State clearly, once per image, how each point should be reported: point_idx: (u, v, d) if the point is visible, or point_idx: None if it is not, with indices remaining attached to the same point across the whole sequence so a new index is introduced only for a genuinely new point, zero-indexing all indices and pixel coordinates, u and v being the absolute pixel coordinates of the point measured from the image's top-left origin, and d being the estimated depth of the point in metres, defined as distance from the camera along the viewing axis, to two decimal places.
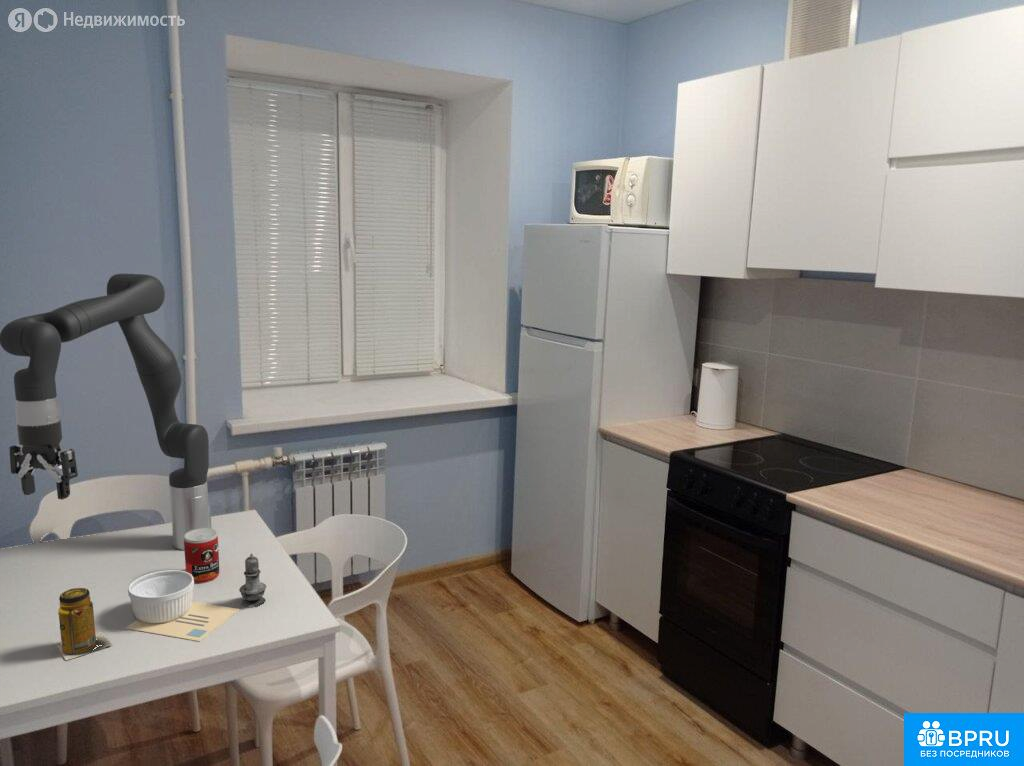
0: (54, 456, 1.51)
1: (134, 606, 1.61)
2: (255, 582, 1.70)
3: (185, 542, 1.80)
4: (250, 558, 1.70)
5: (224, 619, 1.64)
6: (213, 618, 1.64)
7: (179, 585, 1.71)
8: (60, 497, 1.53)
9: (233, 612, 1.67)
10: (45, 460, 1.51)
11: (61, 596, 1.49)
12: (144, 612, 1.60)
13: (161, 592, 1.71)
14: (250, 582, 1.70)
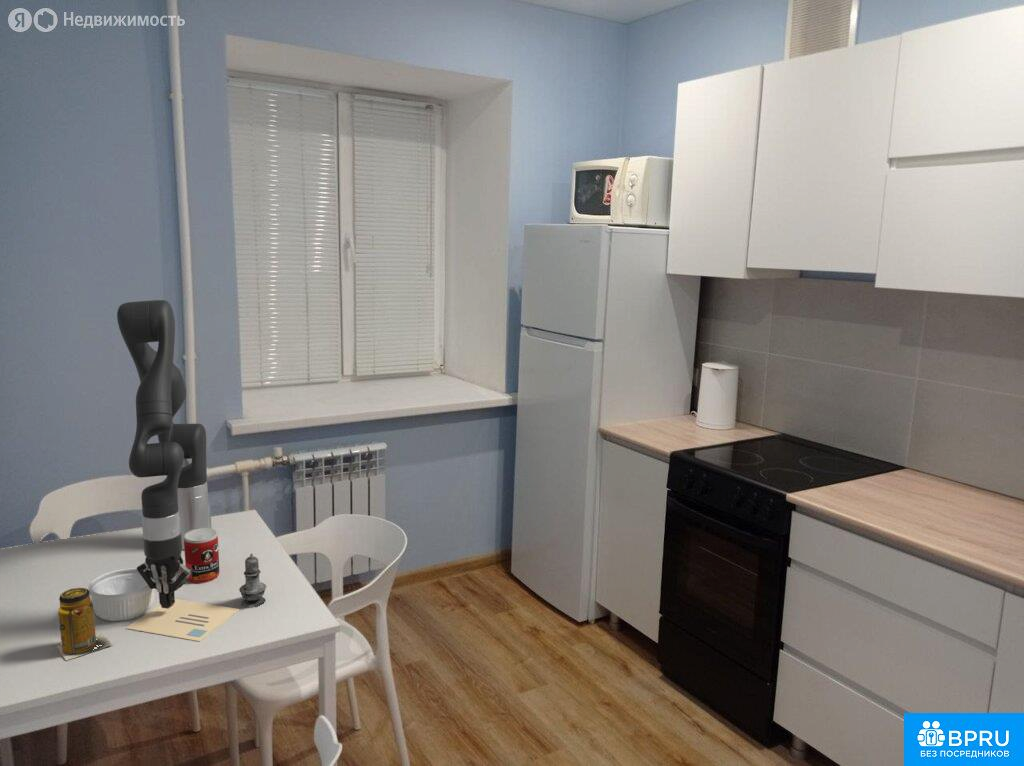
0: (175, 568, 1.63)
1: (96, 605, 1.62)
2: (255, 582, 1.70)
3: (185, 542, 1.80)
4: (250, 558, 1.70)
5: (224, 619, 1.64)
6: (213, 618, 1.64)
7: (138, 583, 1.72)
8: (166, 606, 1.65)
9: (233, 612, 1.67)
10: (166, 573, 1.62)
11: (61, 596, 1.49)
12: (107, 610, 1.61)
13: (120, 591, 1.71)
14: (250, 582, 1.70)
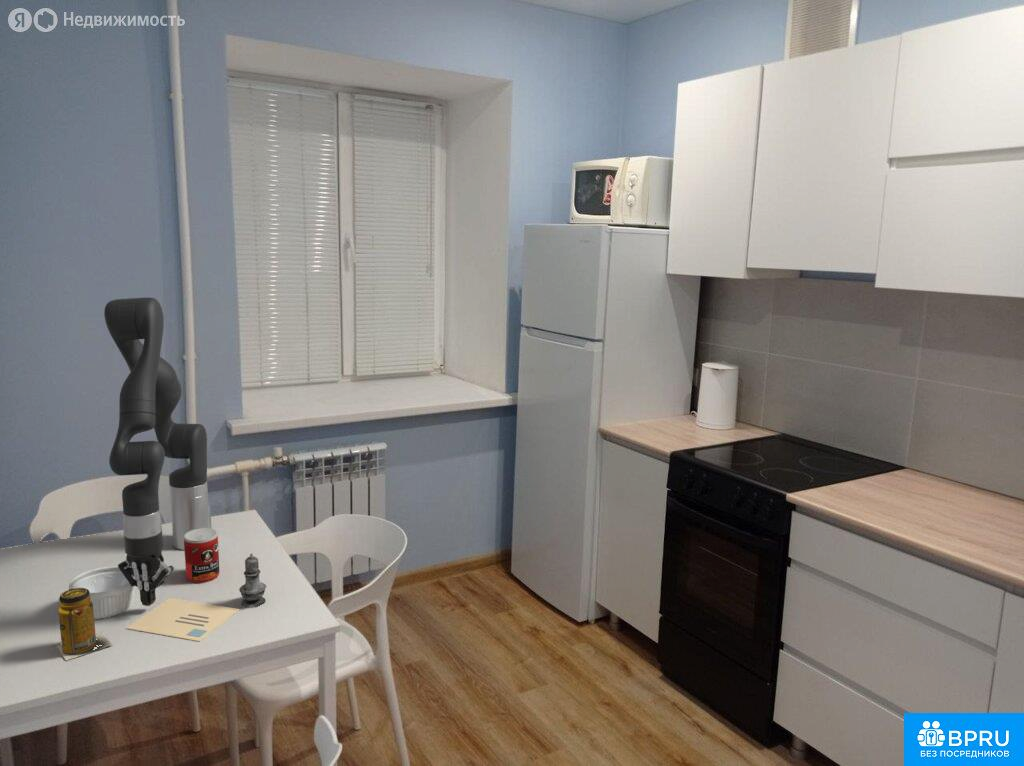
0: (155, 566, 1.64)
1: None
2: (255, 582, 1.70)
3: (185, 542, 1.80)
4: (250, 558, 1.70)
5: (224, 619, 1.64)
6: (213, 618, 1.64)
7: (119, 581, 1.73)
8: (147, 604, 1.66)
9: (233, 612, 1.67)
10: (147, 570, 1.63)
11: (61, 596, 1.49)
12: None
13: (100, 589, 1.72)
14: (250, 582, 1.70)
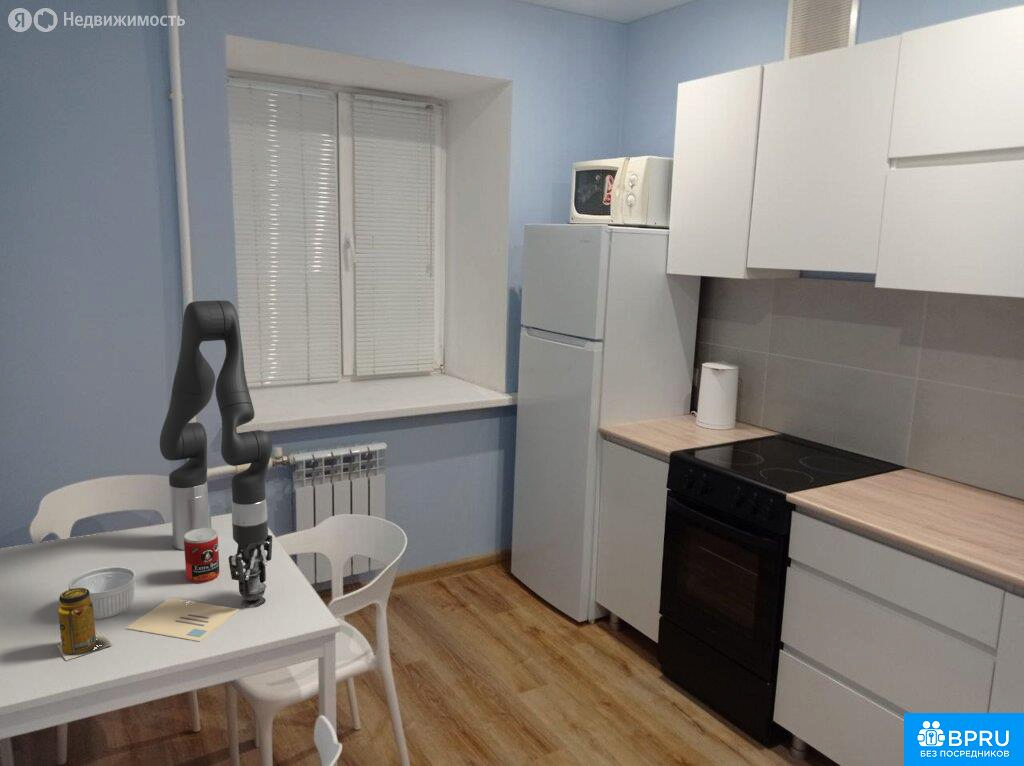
0: None
1: None
2: (255, 582, 1.70)
3: (185, 542, 1.80)
4: None
5: (224, 619, 1.64)
6: (213, 618, 1.64)
7: (119, 581, 1.73)
8: None
9: (233, 612, 1.67)
10: None
11: (61, 596, 1.49)
12: None
13: (100, 589, 1.72)
14: (250, 582, 1.70)
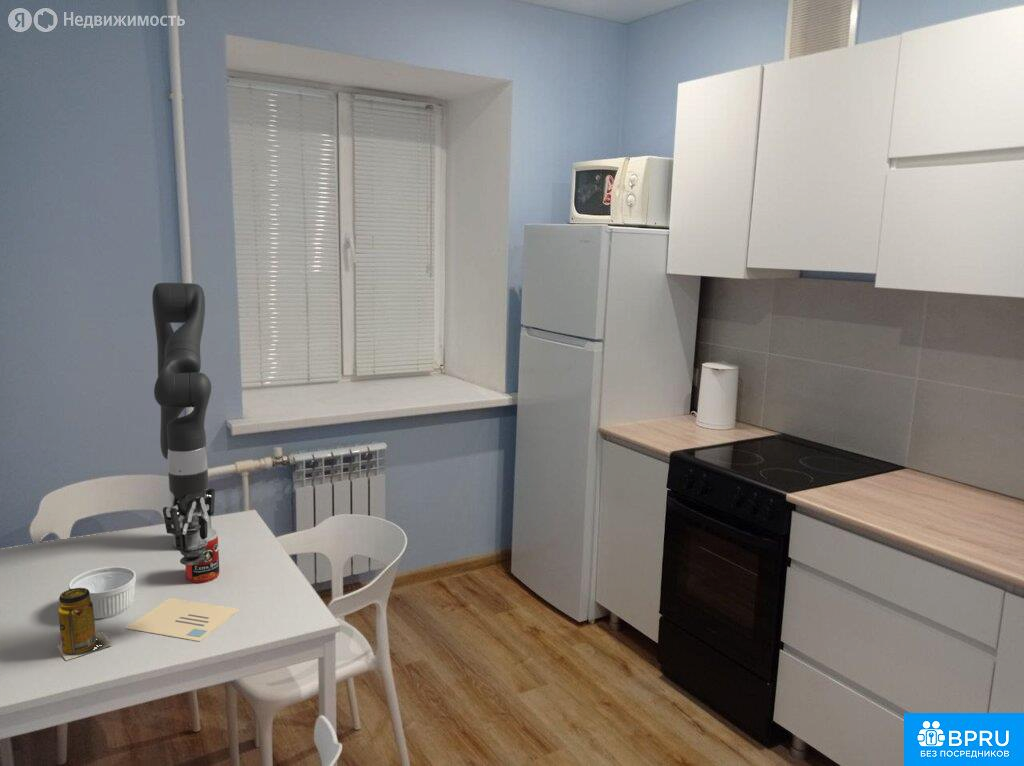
0: None
1: None
2: (195, 538, 1.58)
3: None
4: None
5: (224, 619, 1.64)
6: (213, 618, 1.64)
7: (119, 581, 1.73)
8: None
9: (233, 612, 1.67)
10: None
11: (61, 596, 1.49)
12: None
13: (100, 589, 1.72)
14: (189, 538, 1.57)
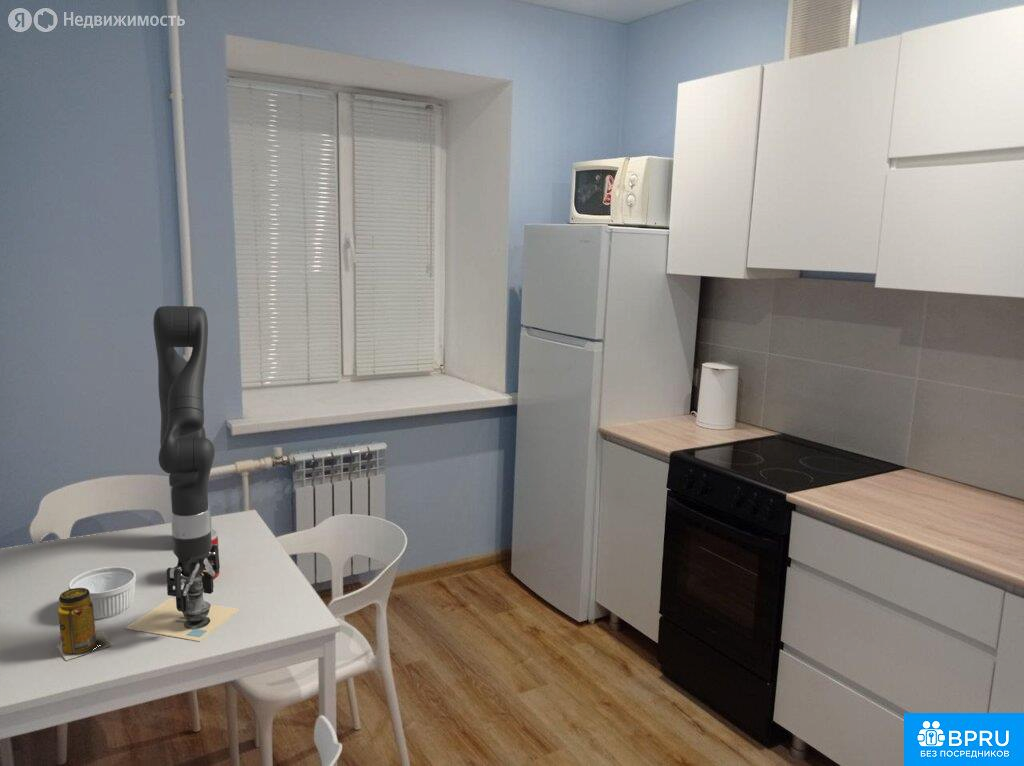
0: None
1: None
2: (198, 602, 1.60)
3: None
4: None
5: (224, 619, 1.64)
6: (213, 618, 1.64)
7: (119, 581, 1.73)
8: None
9: (233, 612, 1.67)
10: None
11: (61, 596, 1.49)
12: None
13: (100, 589, 1.72)
14: (193, 602, 1.60)
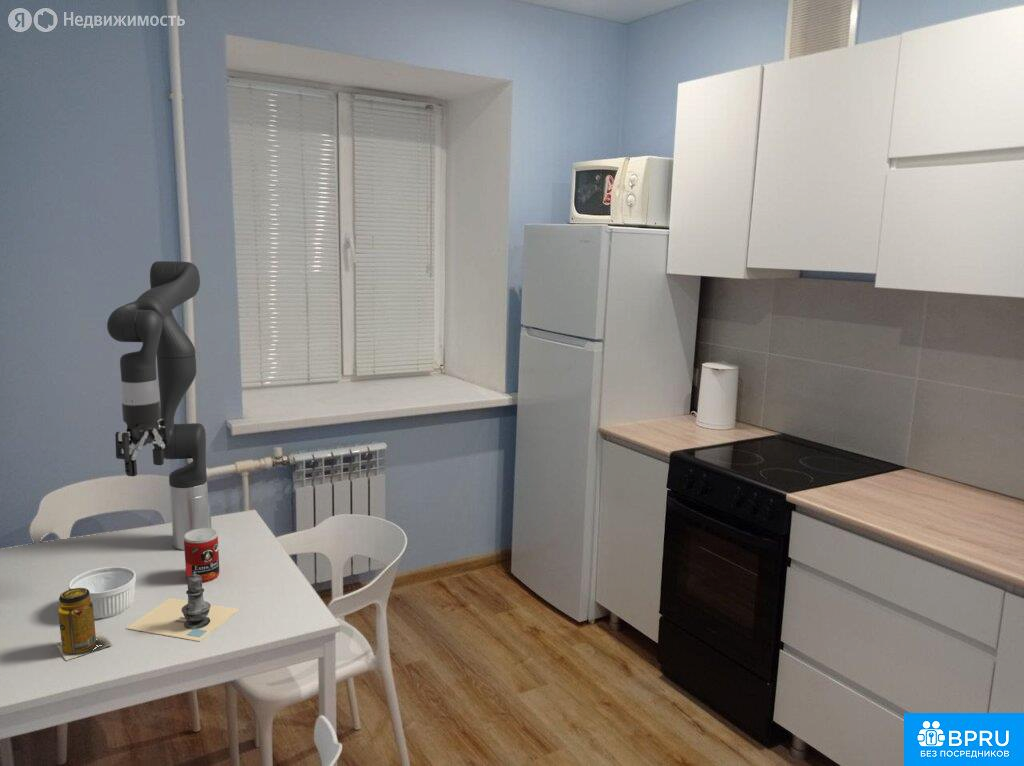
0: None
1: None
2: (198, 602, 1.60)
3: (185, 542, 1.80)
4: (192, 576, 1.60)
5: (224, 619, 1.64)
6: (213, 618, 1.64)
7: (119, 581, 1.73)
8: None
9: (233, 612, 1.67)
10: None
11: (61, 596, 1.49)
12: None
13: (100, 589, 1.72)
14: (193, 602, 1.60)
